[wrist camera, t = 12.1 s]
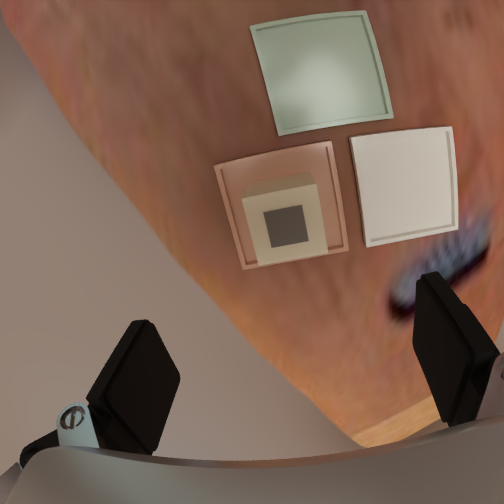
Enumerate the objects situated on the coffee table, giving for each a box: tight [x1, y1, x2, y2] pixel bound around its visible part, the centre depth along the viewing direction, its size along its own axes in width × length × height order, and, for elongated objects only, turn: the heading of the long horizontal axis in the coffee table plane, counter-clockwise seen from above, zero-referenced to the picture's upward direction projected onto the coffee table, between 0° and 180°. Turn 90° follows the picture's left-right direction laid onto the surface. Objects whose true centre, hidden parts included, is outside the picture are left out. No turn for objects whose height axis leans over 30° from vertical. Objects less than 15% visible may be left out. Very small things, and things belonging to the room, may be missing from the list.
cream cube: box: [242, 171, 328, 266], centre depth 23 cm, size 5×5×5 cm
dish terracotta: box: [214, 140, 349, 270], centre depth 25 cm, size 9×9×1 cm
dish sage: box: [250, 10, 394, 136], centre depth 20 cm, size 9×9×1 cm
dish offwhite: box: [348, 126, 458, 247], centre depth 23 cm, size 9×9×1 cm
